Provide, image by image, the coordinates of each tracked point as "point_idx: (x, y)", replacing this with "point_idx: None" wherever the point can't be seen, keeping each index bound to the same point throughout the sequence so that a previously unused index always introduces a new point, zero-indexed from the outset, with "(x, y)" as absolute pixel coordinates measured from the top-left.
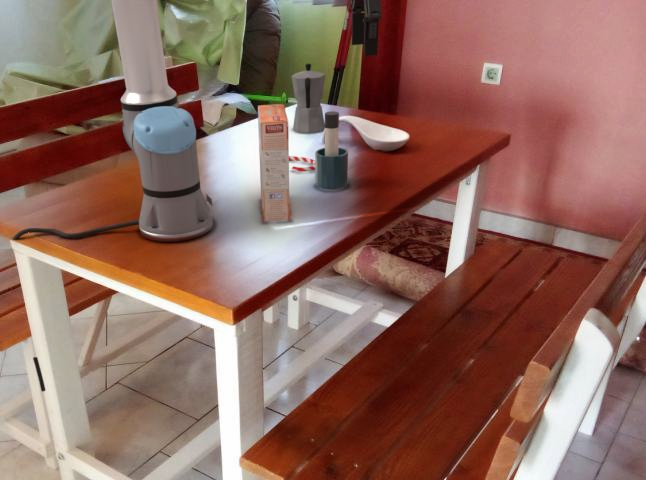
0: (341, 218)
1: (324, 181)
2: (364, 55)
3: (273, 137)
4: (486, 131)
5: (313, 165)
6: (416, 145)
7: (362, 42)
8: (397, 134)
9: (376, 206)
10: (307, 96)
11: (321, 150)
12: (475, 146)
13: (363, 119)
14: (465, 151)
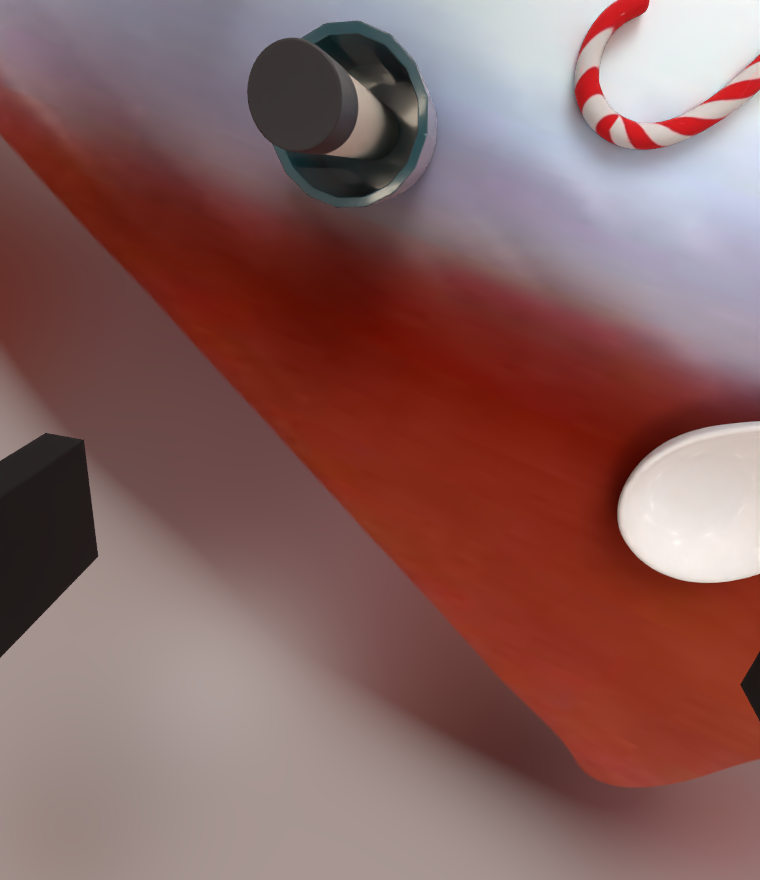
0: (52, 64)
1: None
2: (51, 435)
3: None
4: (669, 778)
5: (599, 107)
6: (666, 579)
7: (757, 688)
8: (734, 556)
9: (142, 227)
10: None
11: (410, 78)
12: (555, 695)
13: None
14: (526, 656)
